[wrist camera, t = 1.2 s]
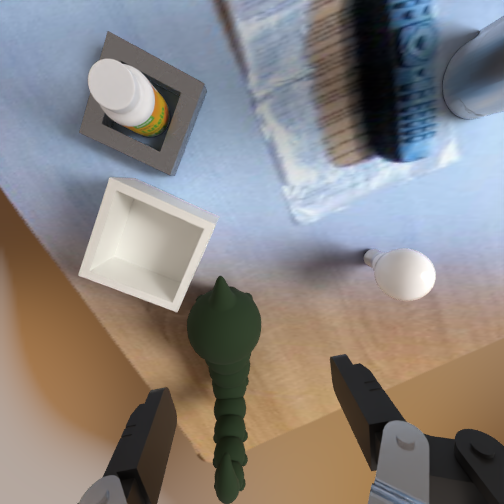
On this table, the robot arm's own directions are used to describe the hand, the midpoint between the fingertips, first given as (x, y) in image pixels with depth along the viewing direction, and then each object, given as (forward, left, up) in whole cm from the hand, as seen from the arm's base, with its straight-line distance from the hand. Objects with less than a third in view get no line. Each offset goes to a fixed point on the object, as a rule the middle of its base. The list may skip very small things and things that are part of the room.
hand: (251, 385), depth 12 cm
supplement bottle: (-11, -18, -26) cm, 33 cm away
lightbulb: (-7, +18, -26) cm, 32 cm away
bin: (+3, -11, -25) cm, 28 cm away
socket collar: (-11, -18, -25) cm, 33 cm away
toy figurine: (+13, +4, -26) cm, 29 cm away
